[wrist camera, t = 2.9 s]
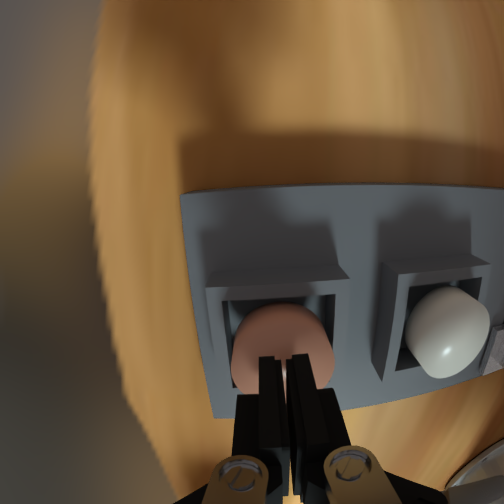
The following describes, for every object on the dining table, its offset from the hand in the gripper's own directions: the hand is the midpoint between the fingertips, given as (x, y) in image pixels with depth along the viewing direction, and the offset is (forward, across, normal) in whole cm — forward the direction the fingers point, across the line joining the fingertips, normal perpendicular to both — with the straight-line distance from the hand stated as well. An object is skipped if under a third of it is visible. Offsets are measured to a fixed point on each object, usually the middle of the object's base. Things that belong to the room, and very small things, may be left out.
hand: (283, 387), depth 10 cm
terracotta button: (+3, 0, 0) cm, 3 cm away
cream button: (+3, -8, 0) cm, 9 cm away
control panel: (+7, -8, 0) cm, 11 cm away
